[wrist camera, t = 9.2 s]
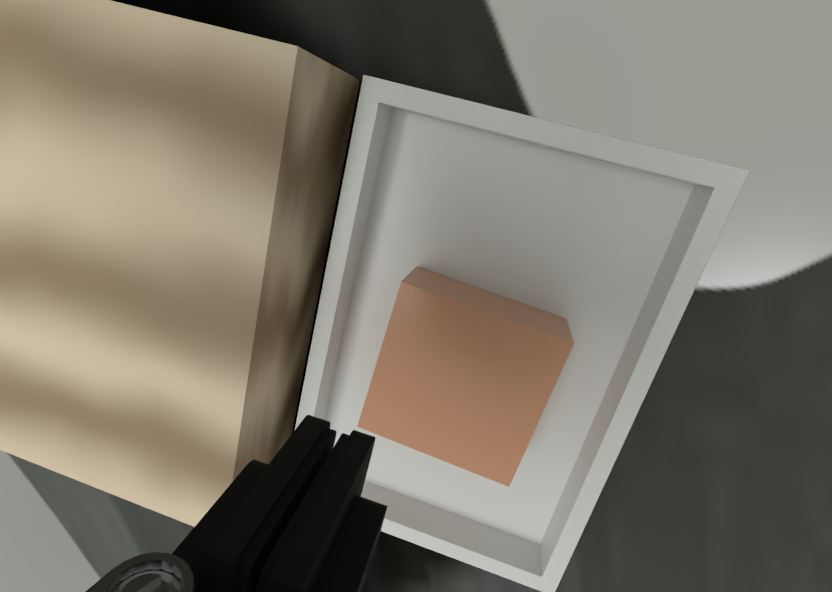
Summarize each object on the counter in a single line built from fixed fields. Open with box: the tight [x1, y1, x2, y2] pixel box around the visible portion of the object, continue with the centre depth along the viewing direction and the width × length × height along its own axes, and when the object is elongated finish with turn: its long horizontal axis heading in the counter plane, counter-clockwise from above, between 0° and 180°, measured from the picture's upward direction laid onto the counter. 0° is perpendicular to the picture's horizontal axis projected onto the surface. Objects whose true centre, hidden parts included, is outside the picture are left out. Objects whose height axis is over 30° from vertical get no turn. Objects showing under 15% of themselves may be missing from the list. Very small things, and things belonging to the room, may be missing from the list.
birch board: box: [0, 0, 360, 527], centre depth 21 cm, size 20×16×6 cm
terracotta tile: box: [357, 266, 574, 487], centre depth 20 cm, size 7×7×3 cm
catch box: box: [294, 75, 749, 592], centre depth 21 cm, size 20×14×2 cm
